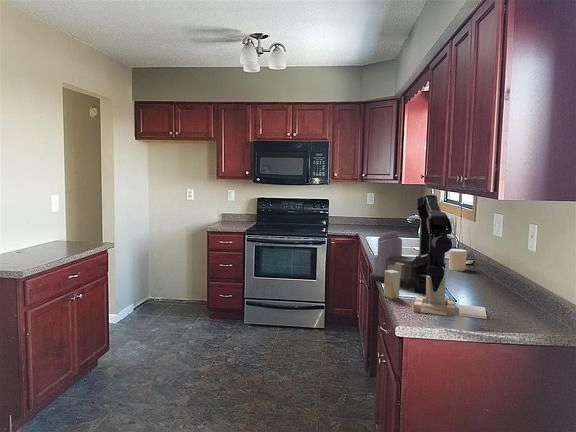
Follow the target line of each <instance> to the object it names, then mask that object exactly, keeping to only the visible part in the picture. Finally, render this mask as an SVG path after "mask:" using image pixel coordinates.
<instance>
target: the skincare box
mask: <svg viewBox="0 0 576 432" xmlns="http://www.w3.org/2000/svg"><path fill="white" fill-rule="evenodd" d="M425 297H426V304H434V305H444V306H445V299H446V277H445V276H444V277H443V279H442V281H441V283H440V285H439V288H438V290H437V292H434V291H433V286H432V280H431V277H430V276H426V293H425Z"/></svg>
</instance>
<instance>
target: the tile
mask: <svg viewBox="0 0 576 432" xmlns="http://www.w3.org/2000/svg"><path fill="white" fill-rule="evenodd" d="M458 316H459V317H467V318H477V319H485V320H486V319H487V317H488V316H487V312H486V308H485V306H484V307H483V306H477V305H476V306H474V305H467V304H458Z"/></svg>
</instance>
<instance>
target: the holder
mask: <svg viewBox="0 0 576 432" xmlns="http://www.w3.org/2000/svg"><path fill="white" fill-rule="evenodd" d="M455 310H456V300H455V299H453V298H451V299H450V298H445V306H444V305H434V304H426V296H422V295H421V296H420V295H417V296H416V298H415V301H414V303H413V312H414V313H423V314H432V315H433V314H434V315H442V316H450V317H455V312H456V311H455Z"/></svg>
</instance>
